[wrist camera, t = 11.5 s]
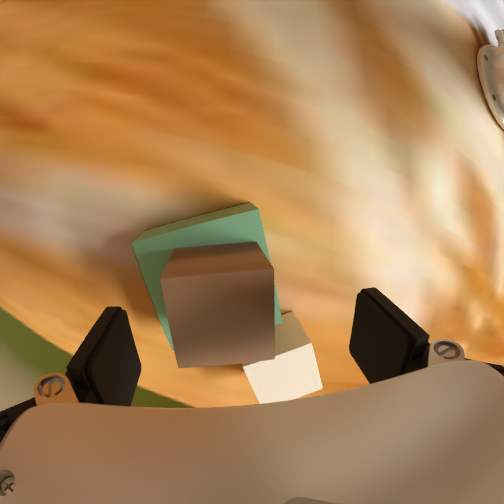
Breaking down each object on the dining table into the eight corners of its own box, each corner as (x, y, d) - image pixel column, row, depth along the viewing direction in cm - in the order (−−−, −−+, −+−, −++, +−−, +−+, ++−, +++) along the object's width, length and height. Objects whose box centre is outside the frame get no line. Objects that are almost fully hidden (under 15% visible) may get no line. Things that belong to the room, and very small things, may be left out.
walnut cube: (173, 248, 17) (160, 278, 12) (256, 241, 17) (273, 268, 12) (184, 321, 18) (178, 368, 13) (259, 314, 19) (274, 359, 14)
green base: (145, 229, 20) (131, 243, 16) (249, 202, 20) (258, 208, 17) (177, 322, 22) (172, 350, 19) (271, 298, 23) (283, 323, 19)
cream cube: (236, 329, 23) (242, 366, 18) (292, 310, 23) (311, 342, 18) (253, 371, 25) (262, 409, 20) (304, 353, 25) (322, 388, 20)
